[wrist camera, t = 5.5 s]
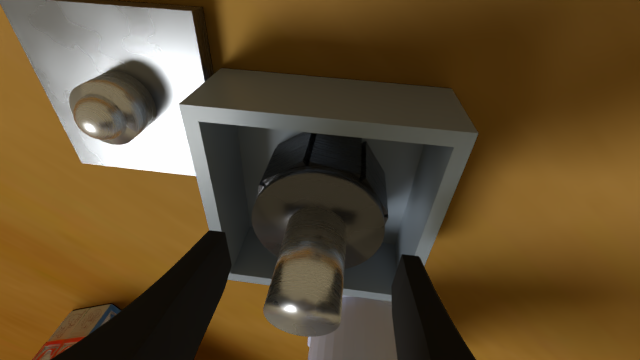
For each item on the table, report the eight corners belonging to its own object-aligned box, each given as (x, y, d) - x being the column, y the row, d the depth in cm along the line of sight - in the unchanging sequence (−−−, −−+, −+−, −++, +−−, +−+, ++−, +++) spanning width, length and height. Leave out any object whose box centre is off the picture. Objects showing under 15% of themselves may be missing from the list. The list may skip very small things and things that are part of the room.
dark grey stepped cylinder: (398, 147, 15) (422, 290, 9) (361, 228, 18) (359, 369, 12) (280, 116, 14) (218, 240, 8) (265, 204, 18) (214, 336, 12)
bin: (401, 245, 19) (408, 303, 16) (244, 226, 20) (221, 278, 17) (451, 88, 13) (478, 133, 10) (221, 68, 14) (178, 104, 11)
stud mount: (228, 168, 17) (201, 212, 14) (94, 153, 18) (42, 192, 15) (202, 7, 12) (154, 25, 10) (18, -7, 13) (-79, 6, 10)
